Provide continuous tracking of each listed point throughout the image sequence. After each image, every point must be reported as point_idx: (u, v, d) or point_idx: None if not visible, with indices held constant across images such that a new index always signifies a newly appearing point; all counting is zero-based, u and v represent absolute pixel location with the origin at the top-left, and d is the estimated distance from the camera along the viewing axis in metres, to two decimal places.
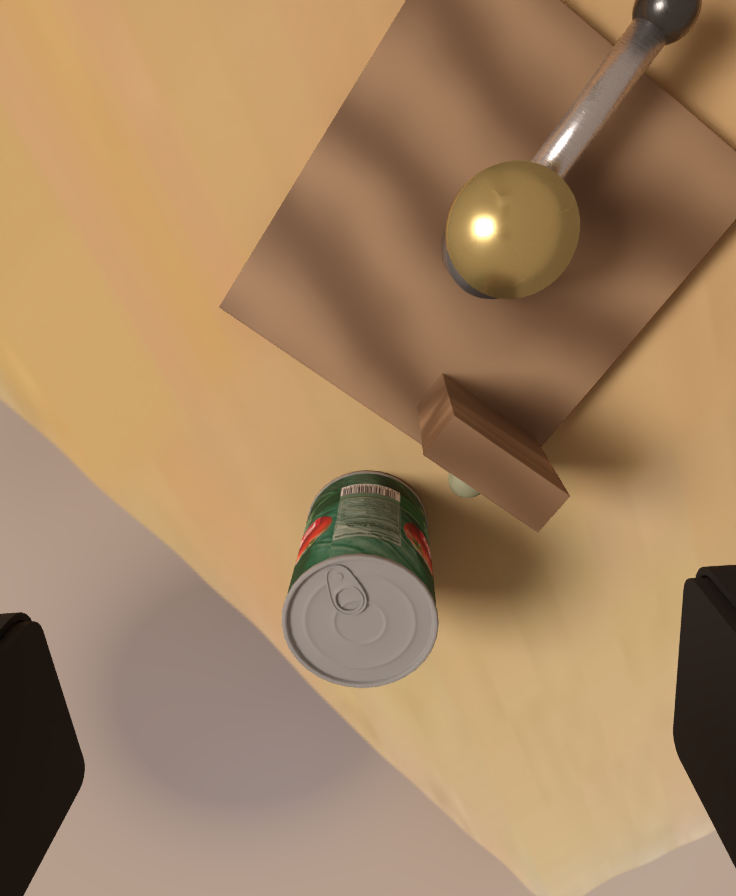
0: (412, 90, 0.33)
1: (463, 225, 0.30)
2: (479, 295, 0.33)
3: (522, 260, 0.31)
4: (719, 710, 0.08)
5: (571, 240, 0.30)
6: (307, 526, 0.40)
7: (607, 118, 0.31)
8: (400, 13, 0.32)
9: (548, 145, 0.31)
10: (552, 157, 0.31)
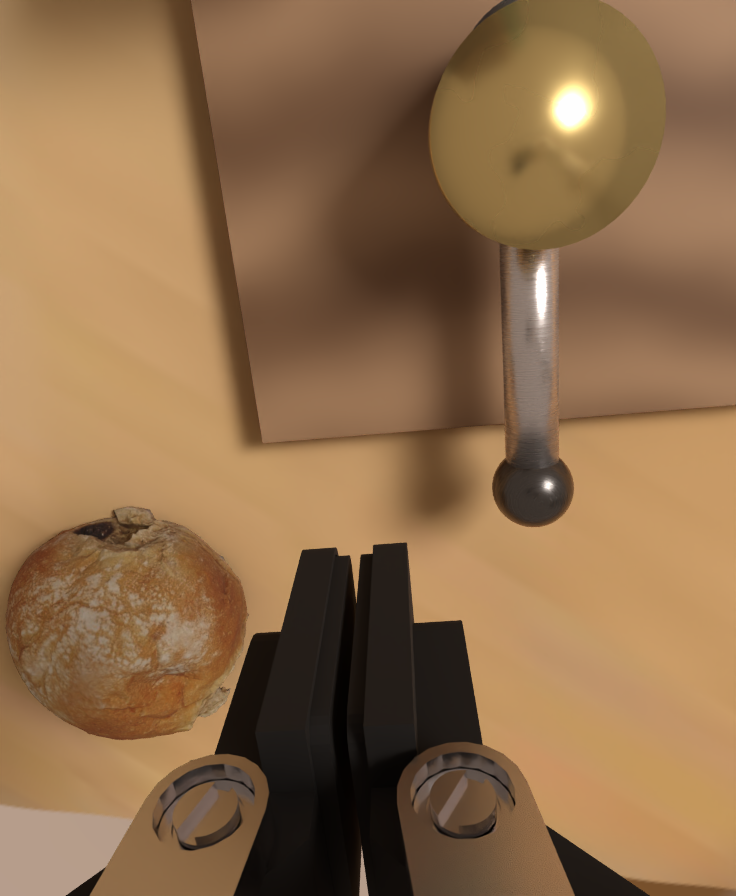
0: (734, 207, 0.23)
1: (627, 72, 0.17)
2: (507, 3, 0.17)
3: (501, 102, 0.17)
4: None
5: (456, 189, 0.18)
6: None
7: (510, 357, 0.21)
8: None
9: (556, 277, 0.21)
10: (544, 268, 0.20)
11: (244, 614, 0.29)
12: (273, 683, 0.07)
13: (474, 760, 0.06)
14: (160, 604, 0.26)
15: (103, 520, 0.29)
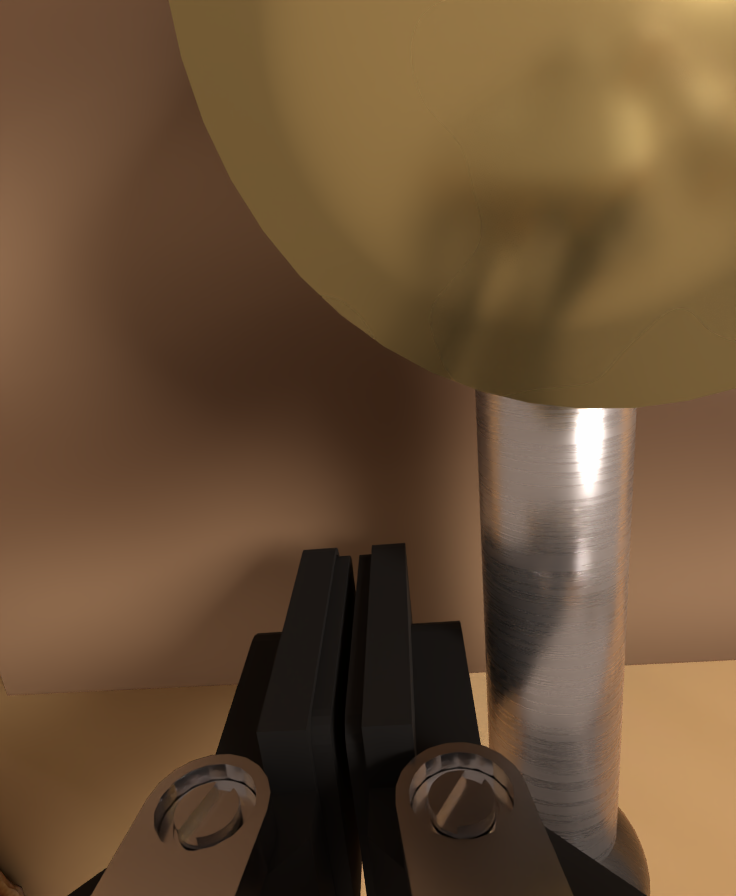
0: None
1: None
2: None
3: None
4: None
5: (287, 187, 0.05)
6: None
7: (502, 627, 0.08)
8: None
9: (631, 437, 0.07)
10: (600, 419, 0.07)
11: None
12: (274, 683, 0.07)
13: (472, 760, 0.06)
14: None
15: None
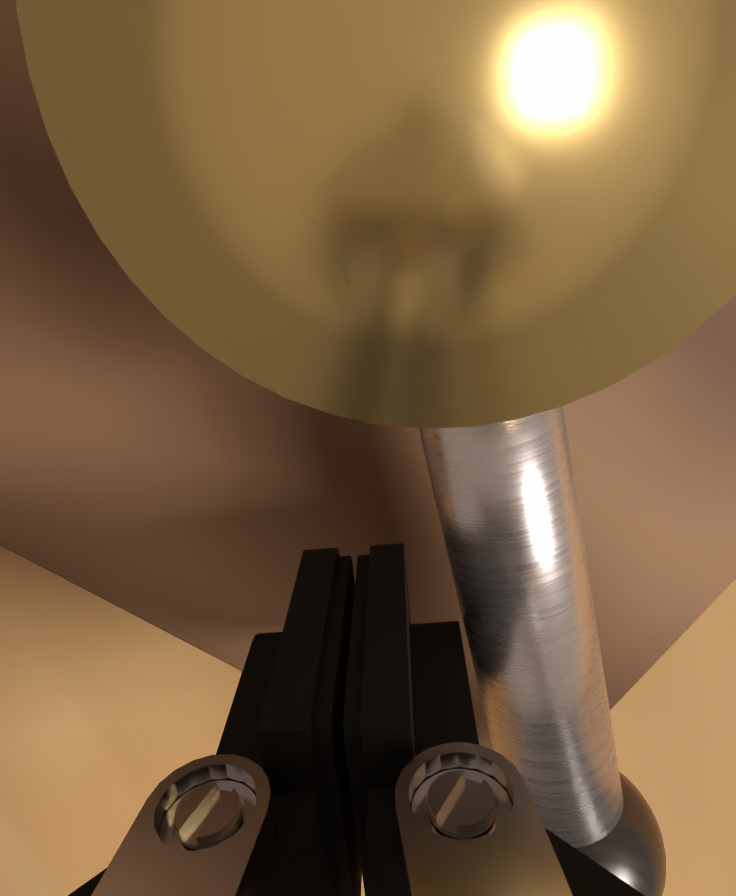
0: (634, 500, 0.12)
1: None
2: None
3: None
4: None
5: (177, 277, 0.05)
6: None
7: (474, 623, 0.09)
8: (655, 656, 0.13)
9: (559, 432, 0.08)
10: (523, 422, 0.08)
11: None
12: (275, 683, 0.07)
13: (471, 761, 0.06)
14: None
15: None
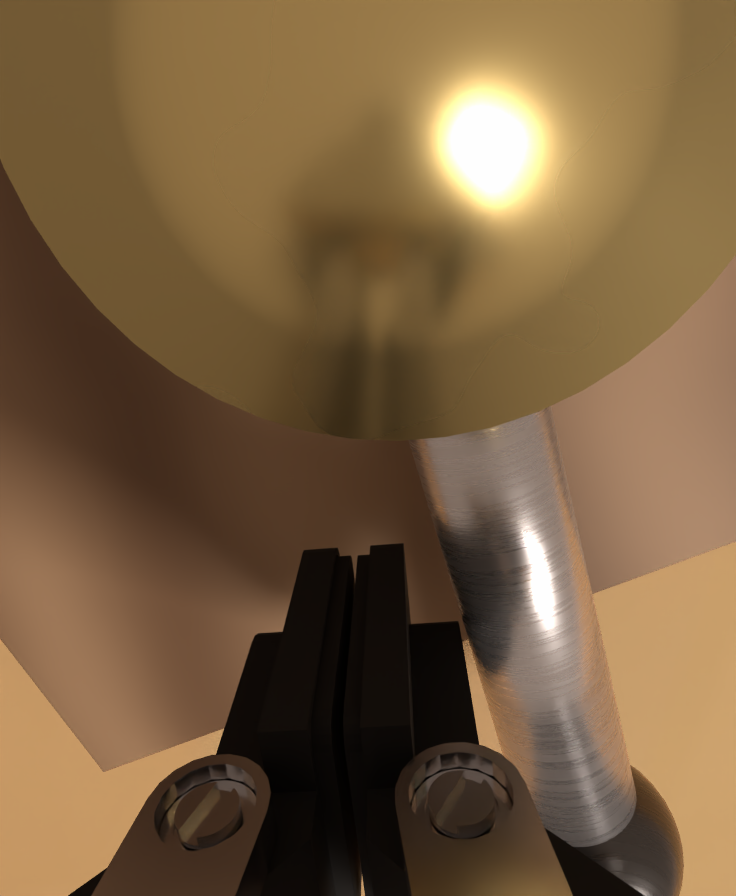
0: None
1: None
2: None
3: None
4: None
5: (144, 304, 0.05)
6: None
7: (474, 626, 0.09)
8: None
9: (547, 433, 0.08)
10: (509, 424, 0.07)
11: None
12: (275, 683, 0.07)
13: (471, 761, 0.06)
14: None
15: None
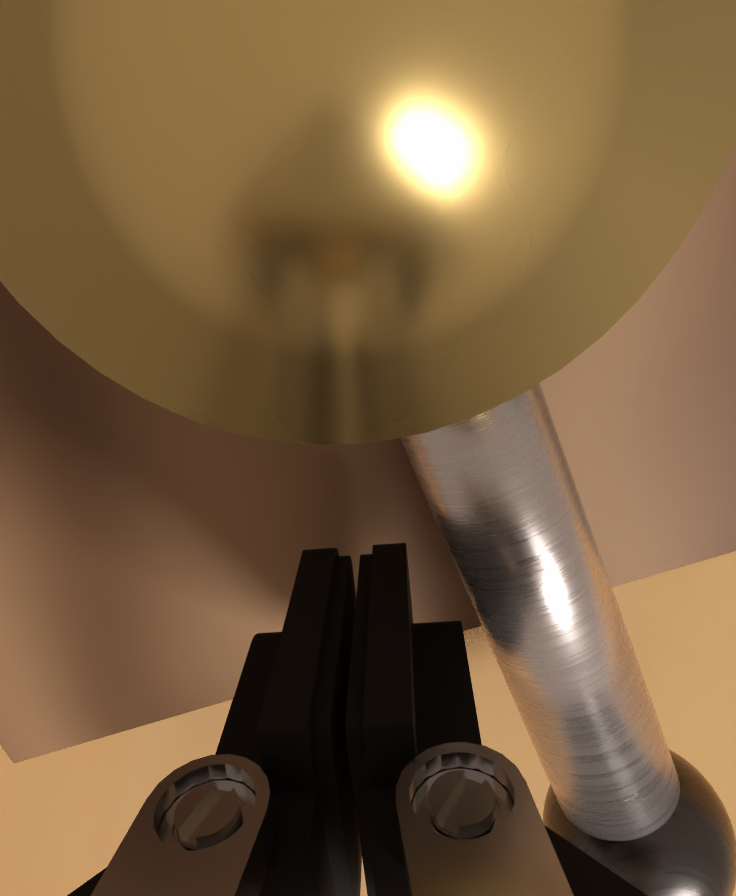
0: (275, 562, 0.12)
1: None
2: None
3: None
4: None
5: (104, 331, 0.05)
6: None
7: (490, 624, 0.09)
8: (216, 699, 0.13)
9: (541, 418, 0.08)
10: (499, 414, 0.07)
11: None
12: (274, 683, 0.07)
13: (473, 760, 0.06)
14: None
15: None
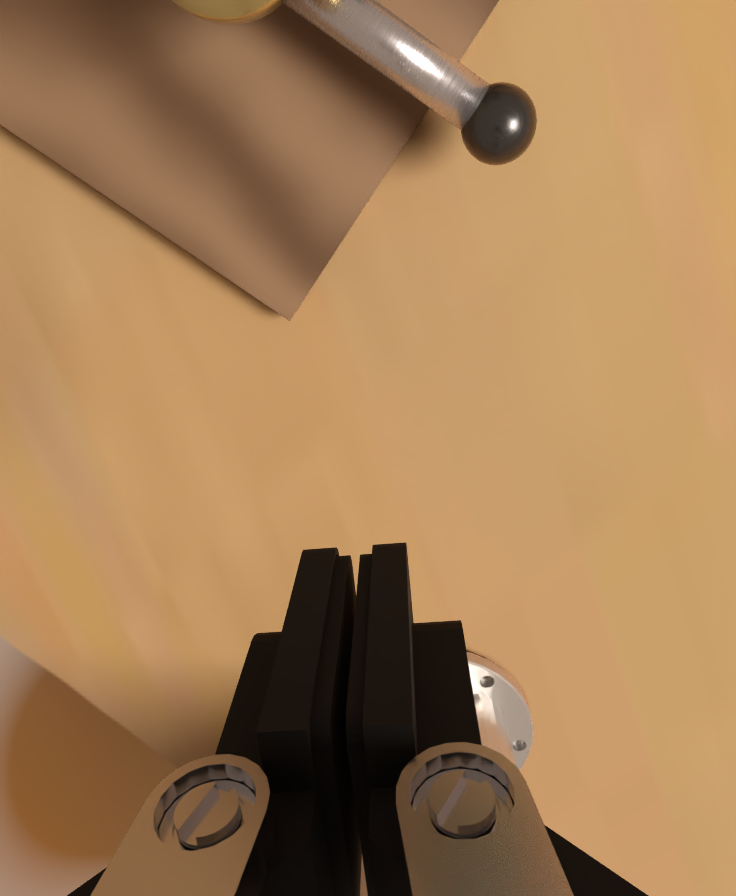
0: (328, 150, 0.28)
1: None
2: None
3: None
4: None
5: (214, 6, 0.22)
6: None
7: (379, 63, 0.24)
8: (344, 232, 0.29)
9: None
10: None
11: None
12: (274, 683, 0.07)
13: (473, 760, 0.06)
14: None
15: None
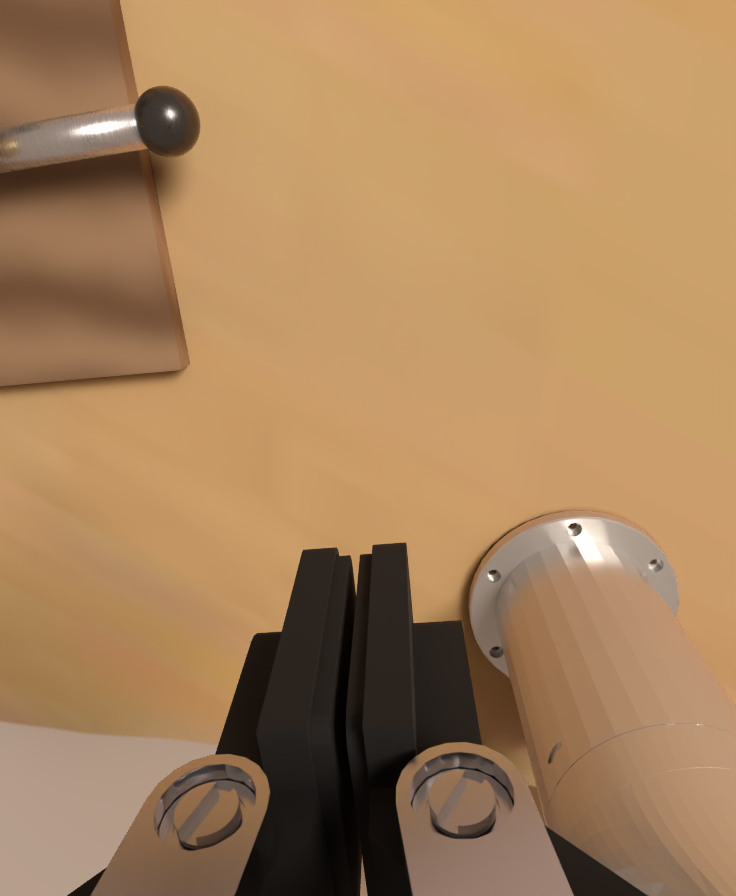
0: (105, 237, 0.34)
1: None
2: None
3: None
4: None
5: None
6: None
7: (61, 157, 0.29)
8: (162, 280, 0.34)
9: None
10: None
11: None
12: (274, 683, 0.07)
13: (473, 760, 0.06)
14: None
15: None
